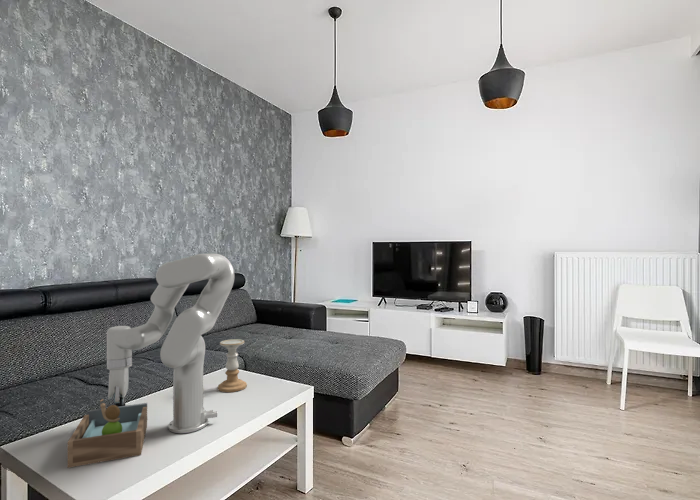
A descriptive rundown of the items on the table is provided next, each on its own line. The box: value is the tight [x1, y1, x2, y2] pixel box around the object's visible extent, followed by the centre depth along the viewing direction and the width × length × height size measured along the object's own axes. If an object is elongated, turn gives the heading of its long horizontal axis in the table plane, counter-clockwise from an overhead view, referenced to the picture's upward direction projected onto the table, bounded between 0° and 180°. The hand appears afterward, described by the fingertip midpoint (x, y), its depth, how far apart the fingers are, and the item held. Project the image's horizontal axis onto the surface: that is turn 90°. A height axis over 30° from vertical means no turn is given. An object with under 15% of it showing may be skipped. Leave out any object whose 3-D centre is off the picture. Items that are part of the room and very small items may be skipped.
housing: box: [67, 406, 148, 469], centre depth 123 cm, size 20×18×7 cm
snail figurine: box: [99, 398, 122, 435], centre depth 123 cm, size 5×6×12 cm
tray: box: [82, 402, 148, 438], centre depth 127 cm, size 19×18×6 cm
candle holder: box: [217, 338, 248, 393], centre depth 175 cm, size 12×12×20 cm
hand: (119, 415), depth 138 cm, fingers closed
